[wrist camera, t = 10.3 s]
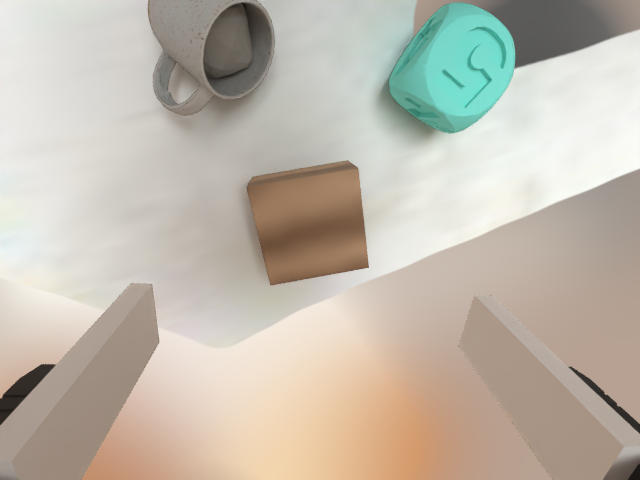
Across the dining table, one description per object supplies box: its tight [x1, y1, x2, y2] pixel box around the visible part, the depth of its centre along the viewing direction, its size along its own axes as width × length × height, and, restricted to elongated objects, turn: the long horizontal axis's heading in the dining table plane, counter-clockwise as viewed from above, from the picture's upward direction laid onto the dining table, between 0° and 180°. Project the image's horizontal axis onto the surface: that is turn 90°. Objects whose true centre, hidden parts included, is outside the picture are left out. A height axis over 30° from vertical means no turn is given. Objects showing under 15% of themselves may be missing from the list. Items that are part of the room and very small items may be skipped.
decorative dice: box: [389, 2, 515, 133], centre depth 30 cm, size 8×8×8 cm
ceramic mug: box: [148, 0, 275, 116], centre depth 26 cm, size 11×8×8 cm
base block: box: [247, 161, 369, 285], centre depth 36 cm, size 11×11×6 cm
